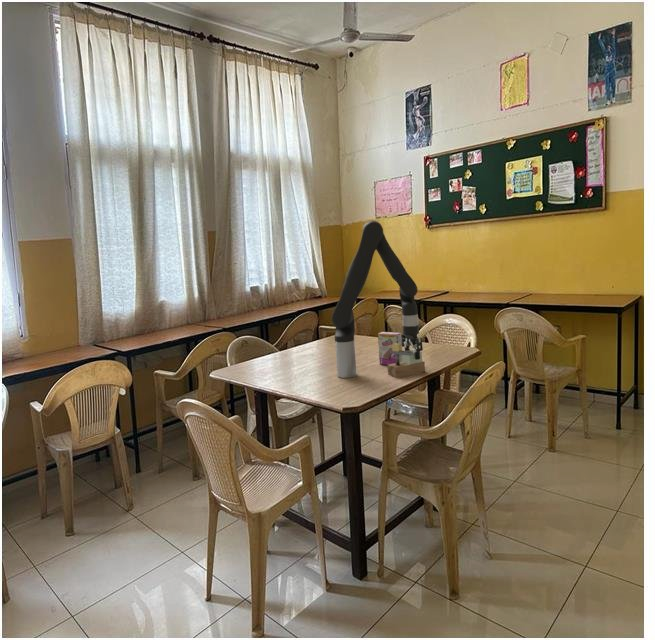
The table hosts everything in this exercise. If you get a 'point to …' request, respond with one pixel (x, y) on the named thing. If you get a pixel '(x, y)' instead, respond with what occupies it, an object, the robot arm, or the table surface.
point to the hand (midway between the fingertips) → (412, 357)
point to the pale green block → (411, 358)
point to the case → (405, 369)
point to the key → (399, 352)
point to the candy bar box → (388, 347)
